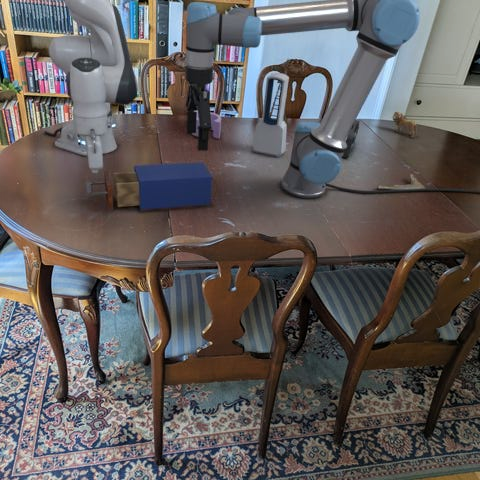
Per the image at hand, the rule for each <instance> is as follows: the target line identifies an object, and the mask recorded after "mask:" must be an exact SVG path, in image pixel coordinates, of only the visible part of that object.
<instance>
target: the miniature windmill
mask: <svg viewBox="0 0 480 480" xmlns="http://www.w3.org/2000/svg"><path fill="white" fill-rule="evenodd" d="M288 66H289V58H287V60H286V64H285V67H282V66H279V65H277V64H276V65H275V64H273V71H275V72H276V71H278V72H279V71H281V70H282V74H285V75H287V74H288V68H289V67H288ZM276 83H277V84H278V87H277V90H276V93H275V97H274V101H273V103H272V105H271V108H270V116H269V117H270V118H272V117H276V118H277V115H274V114H273V112H274V110H277V111H278V108H275V107H278V104H276V102H277V100H279V96H280V95H279V92H280V89H281V82H280V81H278V80H277V81H276ZM288 83H290V80H289V81H288ZM286 108H287V106H286V105H285V109H284V116H283V121H284V122H285V123H286V124H287V116H286V115H287V113H286Z"/></svg>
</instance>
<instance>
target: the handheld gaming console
mask: <svg viewBox="0 0 480 480" xmlns="http://www.w3.org/2000/svg"><path fill="white" fill-rule="evenodd" d="M360 123H361V122H360V120H358V119H356V120H355V122H354V123H353V125H352V127H351V129H350V131H349V133H348V135H347V137H346V139H345V141H346V144H347V148H346V150H345V152H344V154H343V156H342V158H343V159H349V158H350V156H351V153H352V151H353V148H354V145H355V144H356V141H357V136H358V133H359V129H360Z"/></svg>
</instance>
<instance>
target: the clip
mask: <svg viewBox="0 0 480 480" xmlns="http://www.w3.org/2000/svg"><path fill="white" fill-rule="evenodd" d="M194 112H197V120H196V133H191V135H193V136H195V137H197V138H198V131H199V129H197V128H198V126H200V124H199V117H198V111H194ZM210 114H211V126H212V128H211V129H209V130H211V131H213V132H212V137H213V138H215V139H218V140H219V139H221V131H222V116H221V115H219V114H217V113H215V112H211V111H210Z"/></svg>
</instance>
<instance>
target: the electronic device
mask: <svg viewBox="0 0 480 480" xmlns="http://www.w3.org/2000/svg"><path fill="white" fill-rule="evenodd" d="M275 81H277V82H278V81H280V82H281V84H280V87H281V89H279V95H278V96H279V97H278V98H279V99H278V103H277V105H278V106H277V109H278V110H277V112H276V116H277V117H276V119H275V118H272V117H271V118H270V117H269V116H270V112H271V108H272V99H273V93H274V92H273V91H274V82H275ZM288 81H289V82H290V76H288V75H287V74H286V75H285V73H283V72H282V73H281V72H275V73H271V74H269V75H268V76H267V77H266V83H265V91H264V98H263V99H264V100H263V106H262V107H263V108H262V115H261V119H260V120H259V121H258V122H257V123H256V126H255V129H254V134H253V139H252V142H251V150H252V151H253V152H254V153H256V154H261V155H266V156H272V157H275V158H280V157H281V156H283V154H284V153H285V152H286V150H287V149H286V148H287V130H288V124H287V122H286V123H285V122H284V121H283V116H284V109H285V110H286V108H285V106H286V101H287V95H288V87H289V82H288Z"/></svg>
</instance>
